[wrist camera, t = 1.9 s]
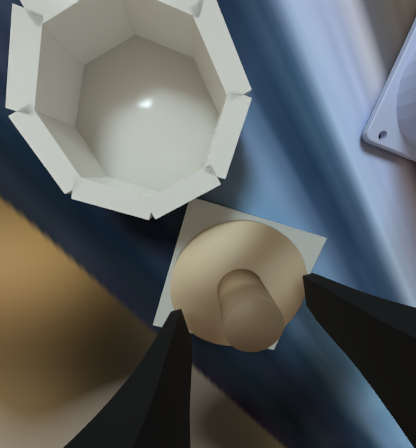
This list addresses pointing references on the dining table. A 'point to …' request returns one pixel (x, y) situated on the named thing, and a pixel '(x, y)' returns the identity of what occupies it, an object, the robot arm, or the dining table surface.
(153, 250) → the dining table surface
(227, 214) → the mat
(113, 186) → the bowl
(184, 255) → the lid
